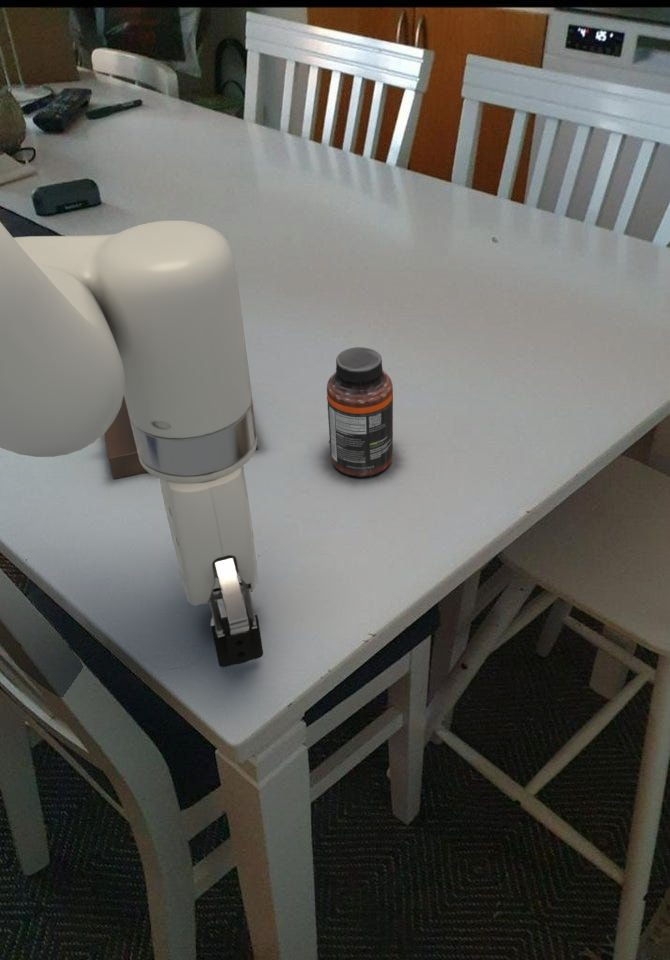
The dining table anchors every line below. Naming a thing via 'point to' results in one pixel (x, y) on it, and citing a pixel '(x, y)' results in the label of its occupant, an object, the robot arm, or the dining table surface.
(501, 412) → the dining table surface
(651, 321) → the dining table surface
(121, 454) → the panel
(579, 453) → the dining table surface
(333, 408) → the supplement bottle
